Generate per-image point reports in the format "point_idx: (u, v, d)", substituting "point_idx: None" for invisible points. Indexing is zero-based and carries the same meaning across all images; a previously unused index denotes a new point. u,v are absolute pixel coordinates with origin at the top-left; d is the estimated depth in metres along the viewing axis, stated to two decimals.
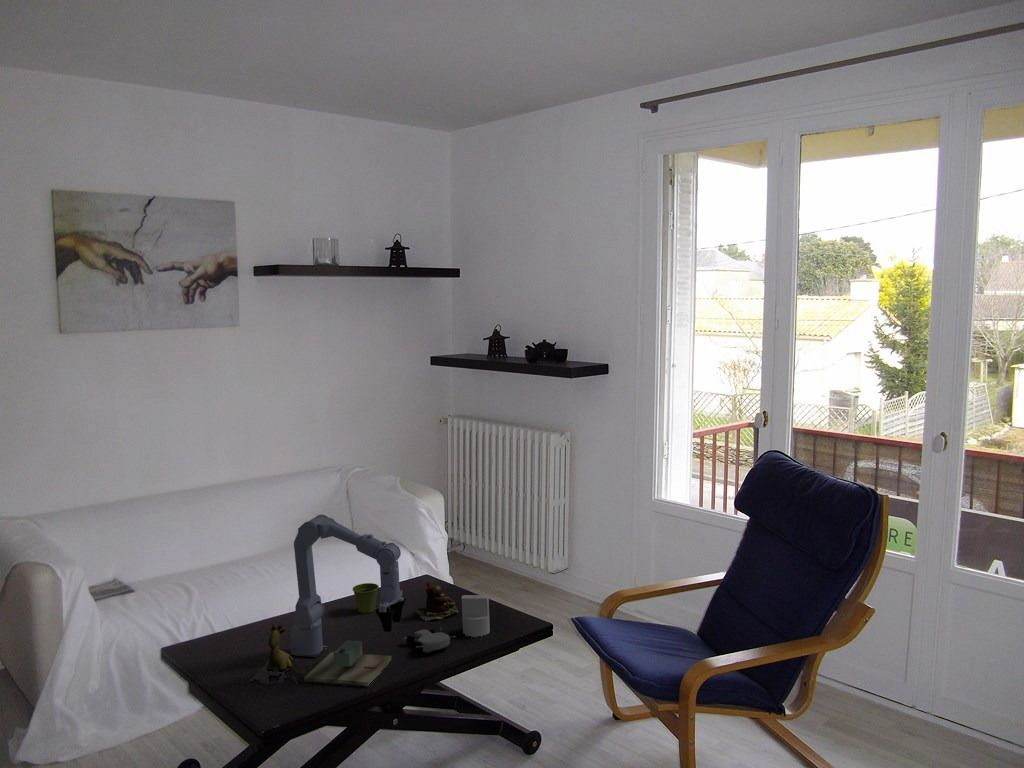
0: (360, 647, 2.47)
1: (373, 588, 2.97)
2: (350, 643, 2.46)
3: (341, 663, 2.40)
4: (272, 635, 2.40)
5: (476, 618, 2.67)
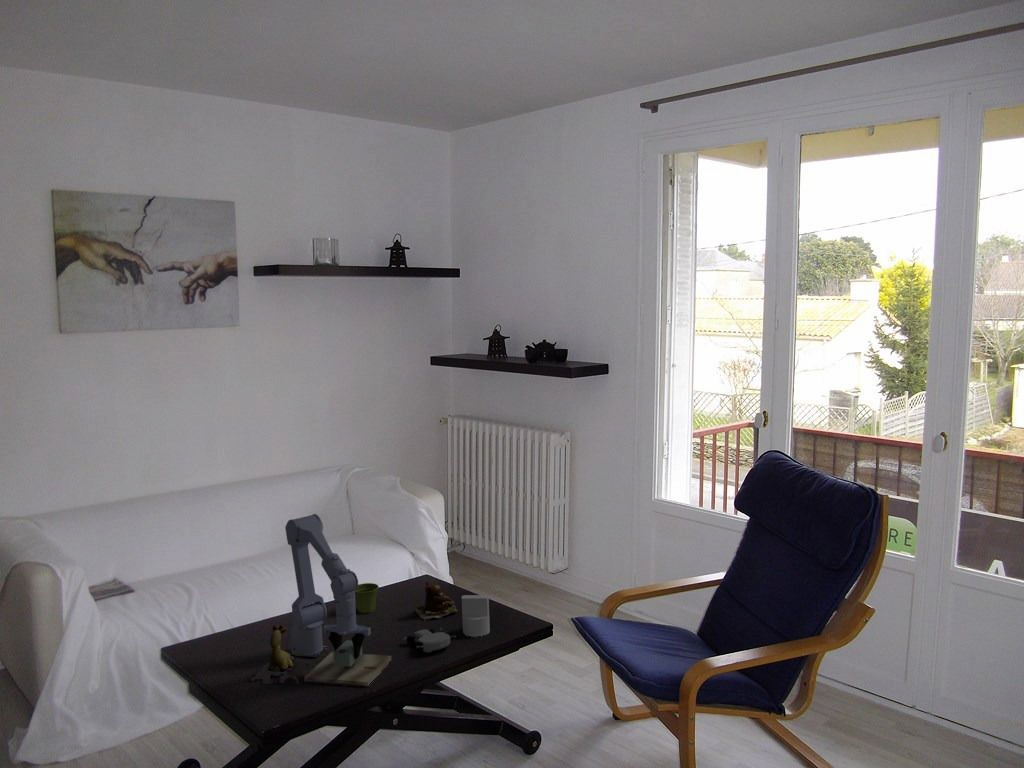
0: None
1: (373, 588, 2.97)
2: (350, 643, 2.46)
3: (341, 663, 2.40)
4: (273, 635, 2.40)
5: (476, 618, 2.67)
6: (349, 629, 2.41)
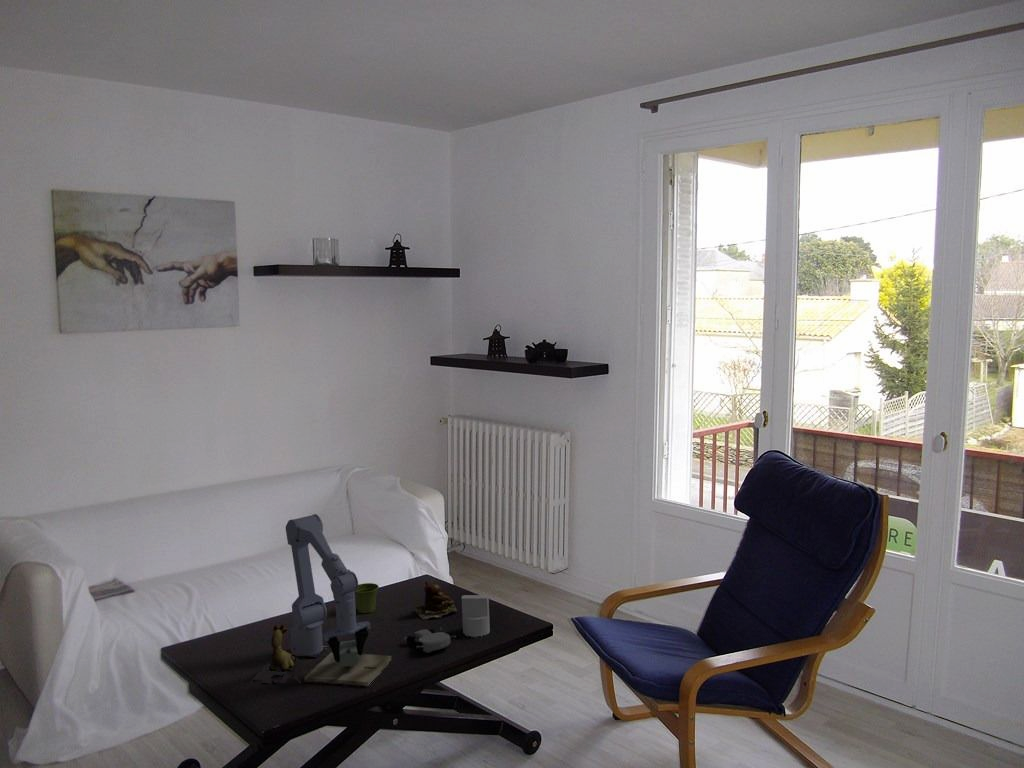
0: None
1: (373, 588, 2.97)
2: (346, 643, 2.46)
3: (348, 663, 2.40)
4: (274, 635, 2.40)
5: (476, 618, 2.67)
6: (355, 627, 2.43)
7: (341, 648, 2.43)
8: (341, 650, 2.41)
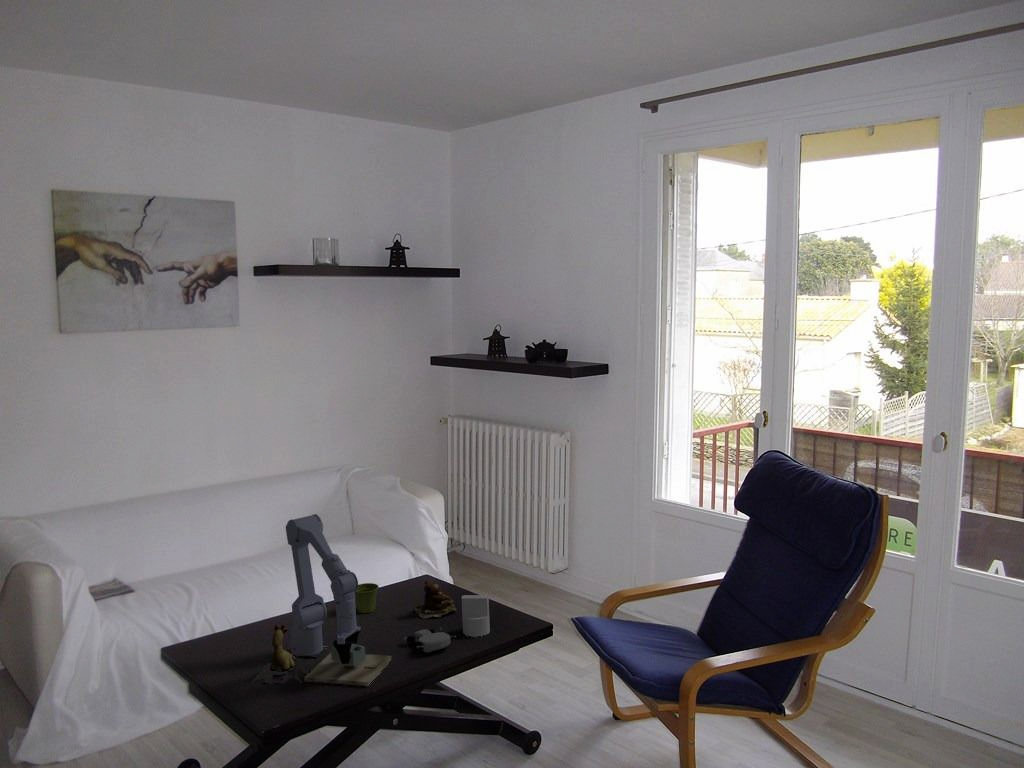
0: None
1: (373, 588, 2.97)
2: None
3: (359, 659, 2.42)
4: (275, 635, 2.40)
5: (476, 618, 2.67)
6: None
7: None
8: None
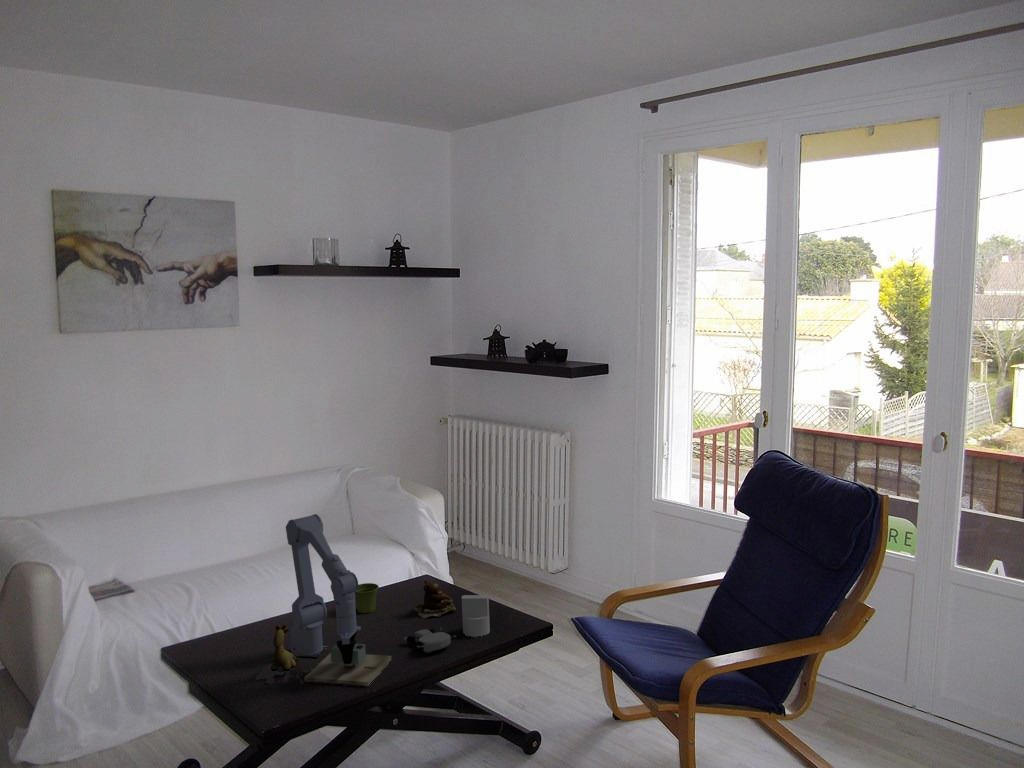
0: None
1: (373, 588, 2.97)
2: None
3: (361, 658, 2.43)
4: (277, 635, 2.40)
5: (476, 618, 2.67)
6: None
7: None
8: None
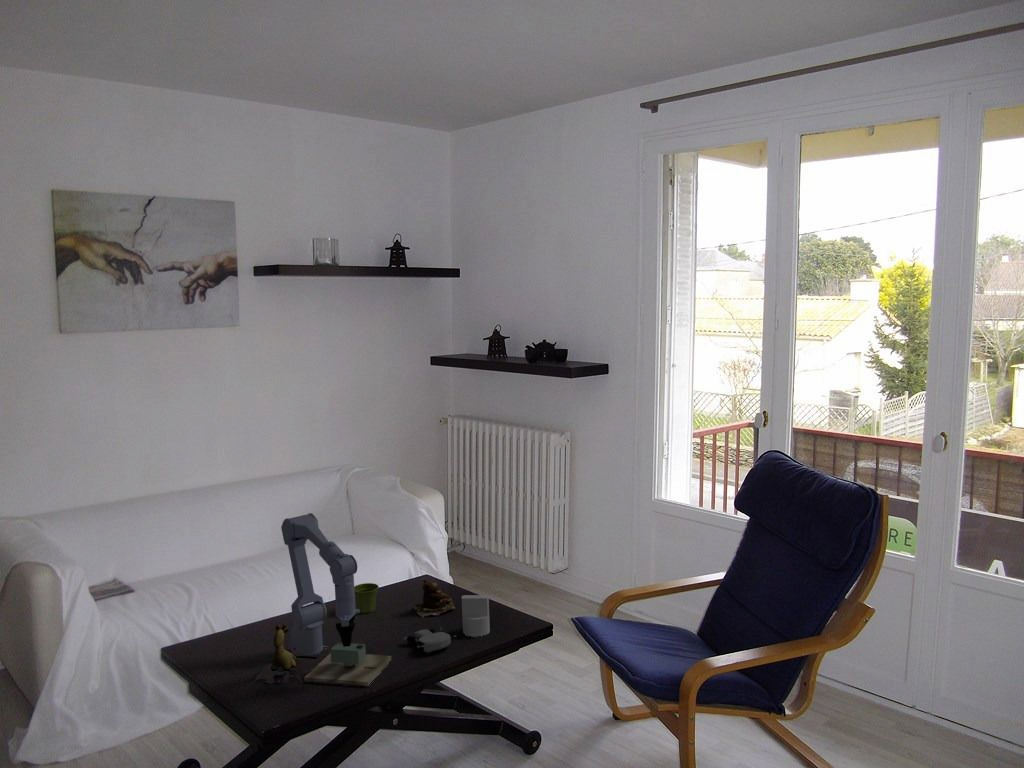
0: None
1: (373, 588, 2.97)
2: (339, 646, 2.44)
3: (362, 658, 2.43)
4: (277, 635, 2.40)
5: (476, 618, 2.67)
6: None
7: (347, 649, 2.42)
8: (351, 649, 2.42)
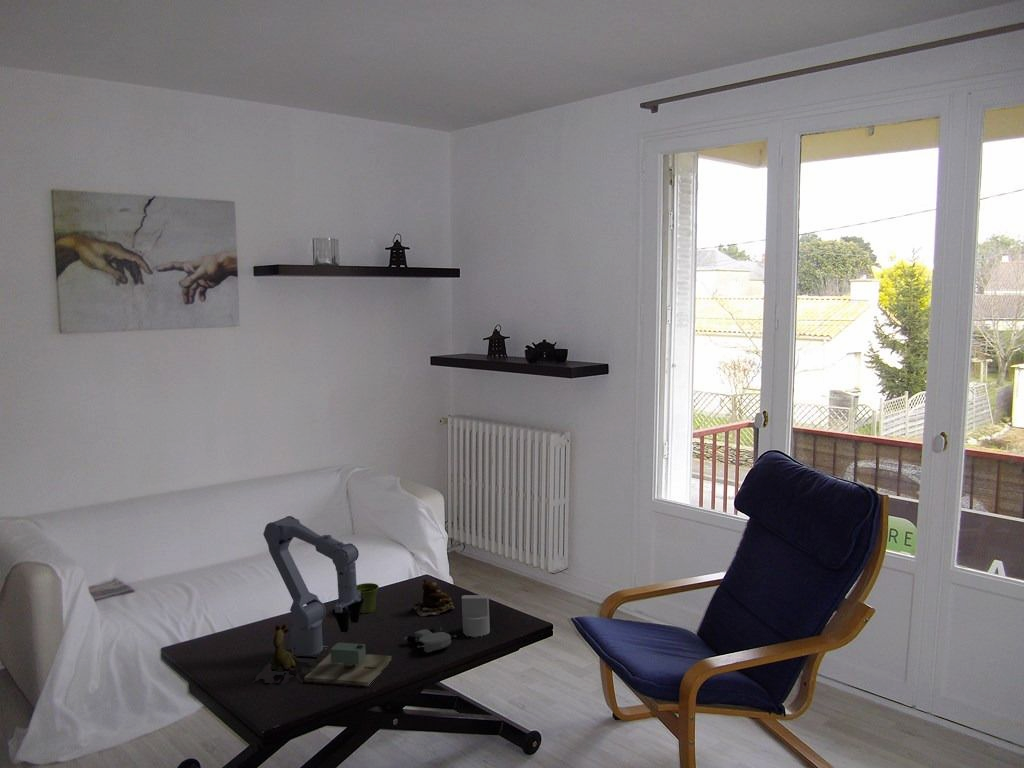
0: None
1: (373, 588, 2.97)
2: (339, 646, 2.44)
3: (362, 658, 2.43)
4: (276, 635, 2.40)
5: (476, 618, 2.67)
6: None
7: (347, 649, 2.42)
8: (351, 649, 2.42)
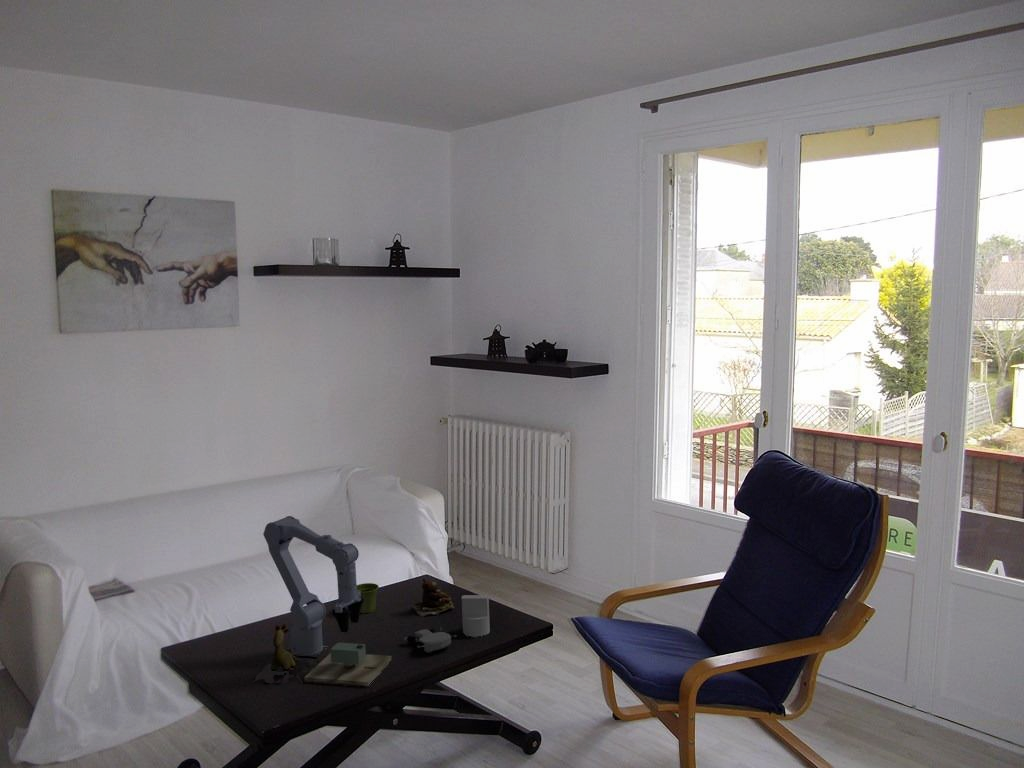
0: None
1: (373, 588, 2.97)
2: (339, 646, 2.44)
3: (362, 658, 2.43)
4: (276, 635, 2.40)
5: (476, 618, 2.67)
6: None
7: (347, 649, 2.42)
8: (351, 649, 2.42)
